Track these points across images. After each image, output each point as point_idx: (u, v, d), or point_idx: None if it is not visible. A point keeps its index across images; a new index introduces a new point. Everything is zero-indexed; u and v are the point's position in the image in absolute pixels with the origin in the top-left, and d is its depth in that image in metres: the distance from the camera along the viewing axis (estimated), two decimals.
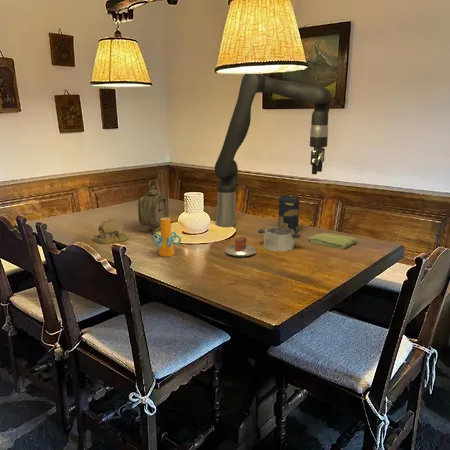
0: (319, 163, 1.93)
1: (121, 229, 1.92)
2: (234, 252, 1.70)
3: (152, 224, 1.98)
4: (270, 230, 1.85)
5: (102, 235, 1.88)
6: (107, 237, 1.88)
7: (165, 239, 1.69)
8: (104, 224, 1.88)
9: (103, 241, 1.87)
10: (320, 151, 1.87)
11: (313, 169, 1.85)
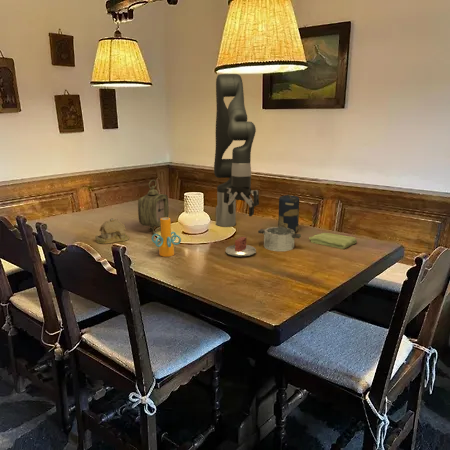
0: (231, 204, 1.71)
1: (122, 229, 1.92)
2: (234, 252, 1.70)
3: (152, 224, 1.98)
4: (270, 230, 1.85)
5: (104, 235, 1.88)
6: (109, 237, 1.88)
7: (165, 239, 1.69)
8: (106, 224, 1.88)
9: (105, 241, 1.87)
10: None
11: (253, 211, 1.67)
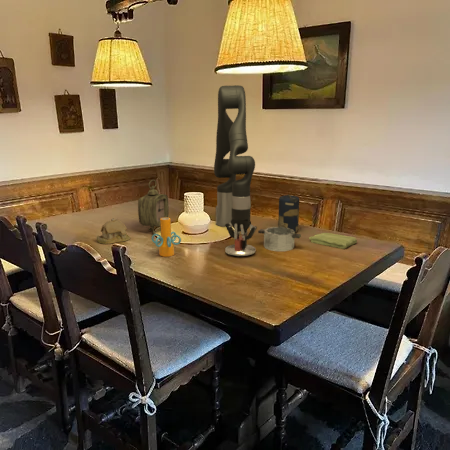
0: None
1: (124, 229, 1.91)
2: (234, 252, 1.70)
3: (152, 224, 1.98)
4: (270, 230, 1.85)
5: (105, 235, 1.88)
6: (110, 237, 1.88)
7: (165, 239, 1.69)
8: (107, 224, 1.87)
9: (106, 241, 1.86)
10: None
11: (245, 243, 1.72)
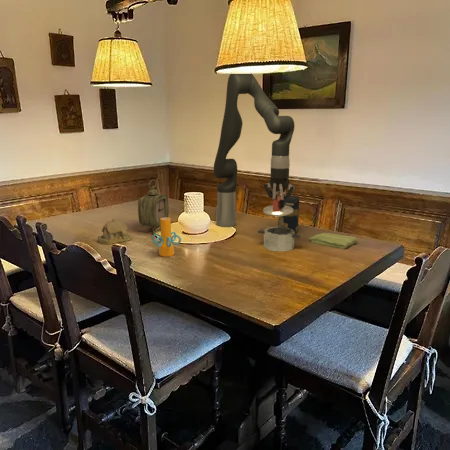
0: None
1: (125, 229, 1.91)
2: (272, 212, 1.74)
3: (152, 224, 1.98)
4: (270, 230, 1.85)
5: (106, 236, 1.87)
6: (111, 237, 1.88)
7: (165, 239, 1.69)
8: (108, 224, 1.87)
9: (108, 242, 1.86)
10: None
11: (284, 203, 1.76)
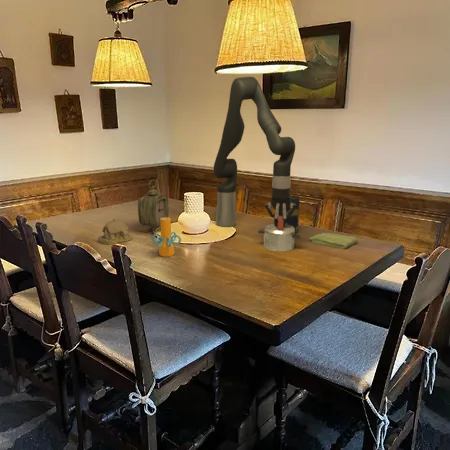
0: None
1: (125, 229, 1.91)
2: (279, 232, 1.76)
3: (152, 224, 1.98)
4: None
5: (107, 236, 1.87)
6: (112, 238, 1.88)
7: (165, 239, 1.69)
8: (109, 225, 1.87)
9: (109, 242, 1.86)
10: None
11: (285, 222, 1.80)
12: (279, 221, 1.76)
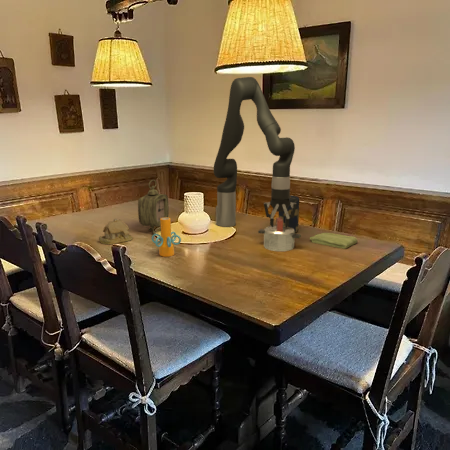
0: (273, 218, 1.79)
1: (126, 229, 1.91)
2: (279, 232, 1.75)
3: (152, 224, 1.98)
4: None
5: (108, 236, 1.87)
6: (113, 238, 1.88)
7: (165, 239, 1.69)
8: (110, 225, 1.87)
9: (110, 242, 1.86)
10: None
11: None
12: (279, 222, 1.76)
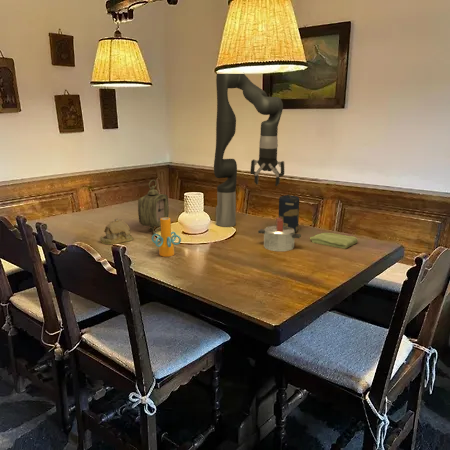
0: (257, 175, 1.83)
1: (127, 229, 1.91)
2: (279, 232, 1.75)
3: (152, 224, 1.98)
4: None
5: (109, 236, 1.87)
6: (114, 238, 1.87)
7: (165, 239, 1.69)
8: (111, 225, 1.87)
9: (111, 242, 1.86)
10: None
11: (279, 180, 1.81)
12: (279, 222, 1.76)
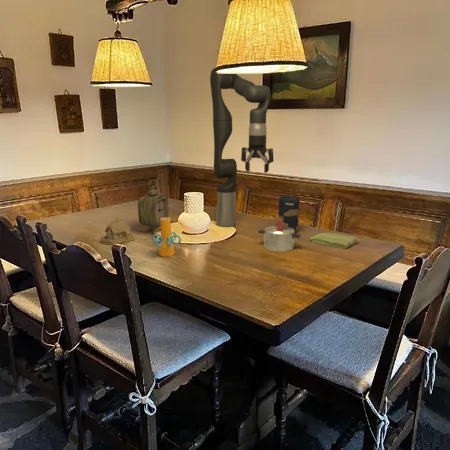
0: (248, 162, 1.88)
1: (128, 229, 1.91)
2: (279, 232, 1.75)
3: (152, 224, 1.98)
4: None
5: (110, 236, 1.87)
6: (115, 238, 1.87)
7: (165, 239, 1.69)
8: (112, 225, 1.87)
9: (112, 242, 1.86)
10: None
11: (268, 167, 1.85)
12: (279, 222, 1.76)
